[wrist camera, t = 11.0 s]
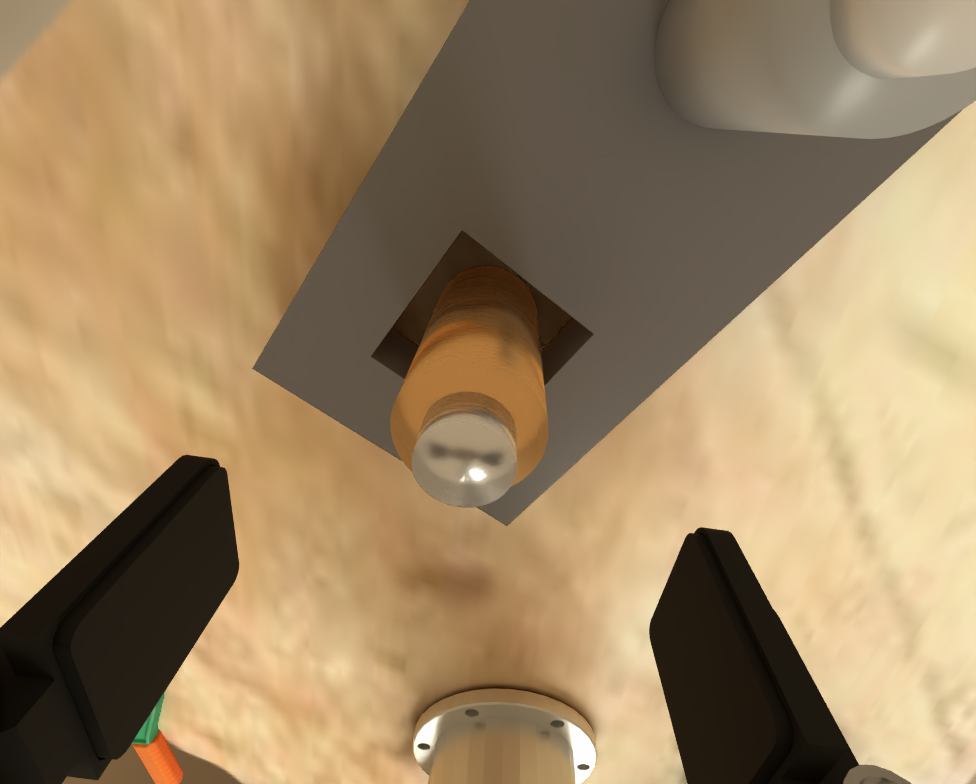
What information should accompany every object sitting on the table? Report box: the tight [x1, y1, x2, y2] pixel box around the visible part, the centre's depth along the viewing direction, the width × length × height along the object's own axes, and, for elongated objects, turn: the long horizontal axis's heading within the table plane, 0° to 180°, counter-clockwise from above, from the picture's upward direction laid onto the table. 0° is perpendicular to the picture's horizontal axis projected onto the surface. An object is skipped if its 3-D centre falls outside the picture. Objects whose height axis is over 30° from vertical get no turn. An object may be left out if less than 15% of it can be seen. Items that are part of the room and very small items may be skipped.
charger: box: [252, 0, 976, 526], centre depth 13 cm, size 22×12×11 cm, turn 143°
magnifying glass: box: [132, 693, 183, 784], centre depth 36 cm, size 15×6×2 cm, turn 1°
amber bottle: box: [390, 266, 549, 507], centre depth 16 cm, size 4×4×10 cm
